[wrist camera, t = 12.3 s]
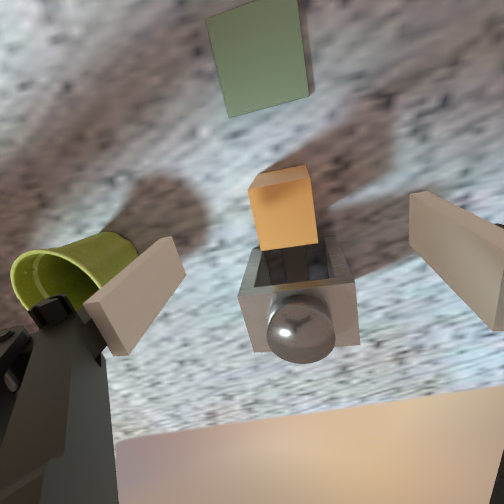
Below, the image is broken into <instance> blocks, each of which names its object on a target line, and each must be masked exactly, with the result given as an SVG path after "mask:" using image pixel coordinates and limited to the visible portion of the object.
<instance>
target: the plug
mask: <svg viewBox="0 0 504 504" xmlns="http://www.w3.org/2000/svg"><path fill="white" fill-rule="evenodd" d="M248 194H249V198H250V203H251V207H252V212H253V217H254V221H255V226H256V230H257V235H258V239H259V244H260V248H261V251H265V250H272V249H280V248H281V252H282V257H283V263H284V268H285V273H286V279H287V284H288V283H296V282H304V281H309V275H308V268H307V261H306V254H305V247H304V245H308V244H315V243H318V237H317V229H316V220H315V212H314V204H313V196H312V187H311V179H310V176H309V173H308V170H307V168H306V165H300V166H295V167H290V168H285V169H281V170H276V171H271V172H266V173H261V174H258V175H257V176H256V178H255V179H254V181H253V182H252V184H251V185H250V187H249V188H248Z"/></svg>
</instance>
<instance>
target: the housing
mask: <svg viewBox="0 0 504 504" xmlns="http://www.w3.org/2000/svg"><path fill="white" fill-rule="evenodd" d="M324 243H325V251H326V259H327V266H328V274H329V278H328V279H320V280H312V281H304V282H296V283H288V284H280V285H271V280H270V276H269V272H268V267H267V263H266V259H265V255H264V251H261V248H256V249H252V251H251V255H250V258H249V261H248V264H247V267H246V271H245V274H244V277H243V280H242V283H241V287H240V290H239V293H238V296H237V297H238V300H239V304H240V307H241V310H242V314H243V317H244V320H245V323H246V327H247V330H248V333H249V337H250V340H251V343H252V347H253V350H254V352H268V351H273V352H274V354H276V355H277V356H278V357H280V358H281V359H283V360H286V361H288V362H292V363H298V364H307V363H313V362H317V361H319V360H321V359H323V358H325V357H326V356H327V355H328V354H329V353H330V352H331V351H332V350H333V348H334V347H339V346H353V345H360V336H359V324H358V312H357V300H356V288H355V281H354V279H353V276H352V274H351V272H350V269H349V267H348V264H347V262H346V259H345V257H344V255H343V252H342V250H341V247H340V245H339V243H338V240H337V238H336V236H332V237H326V238H324Z"/></svg>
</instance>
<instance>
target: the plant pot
mask: <svg viewBox="0 0 504 504" xmlns="http://www.w3.org/2000/svg"><path fill="white" fill-rule="evenodd" d="M137 257H138V253H137V251H136V249H135V247H134V246H133V245H132V243H131V242H130V241H128V240H126V239H124V238H122V237H121V236H120V235H118V234H117V233H114V232H101V233H98V234H96V235H93V236H90V237H87V238H85V239H82V240H79V241H76V242H73V243H71V244H68V245H65V246H62V247H59V248H50V249H35V250H30V251H28V252H25V253H23V254H21V255H20V256H19V257H18V258H17V259H16V260H15V261H14V263H13V265H12V267H11V271H10V277H11V282H12V287H13V290H14V292H15V294H16V296H17V298H18V299H19V300H20V302H21V304H22V305H23V306H24V307H25V308H26V309H27V310H29V309H30V308H31V307H33V306H34V305H35V304H37V303H39V302H40V301H42V300H44V299H46V298H48V297H51V296H54V295H57V294H66V295H67V297H68V299H69V300H70V302H71V303H72V305H73V307H74V308H75V310H76V312H77V311H78V310H80V309H81V308H82V307H83V303H84V302H85V301H86V300H88V299H89V298H90V297H91V296H92V295H94V294H95V293H96V292H97V291H98V290H99V289H101V288H102V287H103V286H104V285H105V284H107V283H108V282H109V281H110V280H111V279H112V278H114V277H115V276H116V275H117V274H118V273H120V272H121V271H122V270H123V269H124V268H126V267H127V266H128V265H129V264H130V263H131V262H133V261H134V260H135V259H136V258H137Z"/></svg>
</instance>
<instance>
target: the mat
mask: <svg viewBox="0 0 504 504" xmlns="http://www.w3.org/2000/svg"><path fill="white" fill-rule="evenodd" d="M205 21H206V25H207V29H208V33H209V37H210V42H211V46H212V50H213V54H214V58H215V63H216V67H217V71H218V75H219V79H220V84H221V88H222V92H223V96H224V100H225V105H226V109H227V113H228V117H229V118H231V117H235V116H239V115H242V114H246V113H250V112H253V111H257V110H260V109H264V108H268V107H271V106H275V105H279V104H282V103H286V102H290V101H293V100H297V99H301V98H304V97H308V96H309V91H308V83H307V75H306V67H305V59H304V51H303V43H302V35H301V27H300V19H299V11H298V3H297V0H256V1H253V2H251V3H248V4H245V5H242V6H240V7H237V8H234V9H231V10H229V11H226V12H223V13H221V14H218V15H215V16H212V17H210V18H207V19H205Z"/></svg>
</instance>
